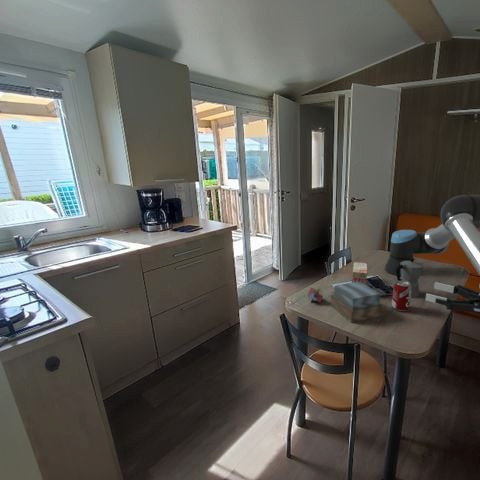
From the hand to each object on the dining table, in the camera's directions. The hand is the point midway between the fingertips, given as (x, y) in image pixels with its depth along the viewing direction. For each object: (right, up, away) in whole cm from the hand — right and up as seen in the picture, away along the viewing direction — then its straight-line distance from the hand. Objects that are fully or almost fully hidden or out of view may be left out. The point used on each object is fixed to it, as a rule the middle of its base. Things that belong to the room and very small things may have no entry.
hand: (430, 290), depth 115 cm
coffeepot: (+3, -6, +23) cm, 24 cm away
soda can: (-6, -10, +10) cm, 16 cm away
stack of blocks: (-15, -4, +33) cm, 36 cm away
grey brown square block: (-26, -10, +10) cm, 30 cm away
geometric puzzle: (-41, -9, +20) cm, 46 cm away
